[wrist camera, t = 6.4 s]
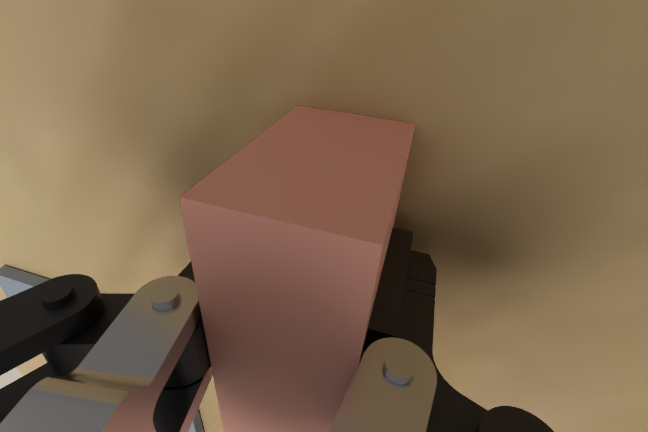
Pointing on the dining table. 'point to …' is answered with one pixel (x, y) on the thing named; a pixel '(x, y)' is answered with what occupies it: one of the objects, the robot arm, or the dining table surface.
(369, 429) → the robot arm
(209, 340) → the pink rectangular block
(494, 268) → the dining table surface
